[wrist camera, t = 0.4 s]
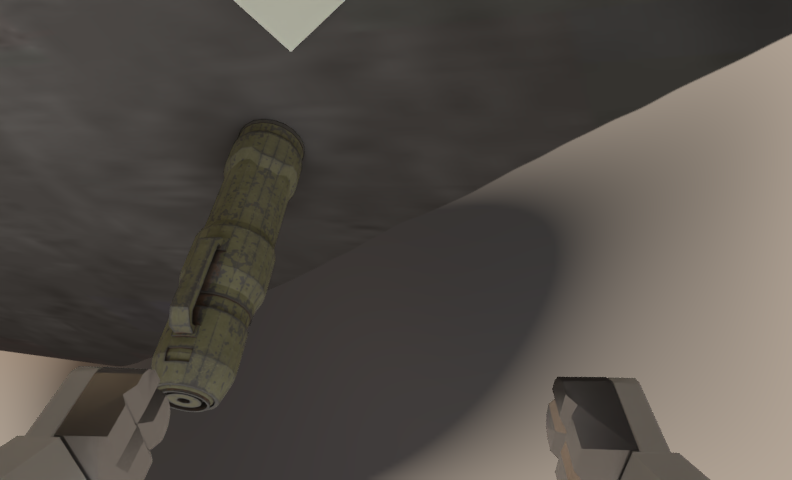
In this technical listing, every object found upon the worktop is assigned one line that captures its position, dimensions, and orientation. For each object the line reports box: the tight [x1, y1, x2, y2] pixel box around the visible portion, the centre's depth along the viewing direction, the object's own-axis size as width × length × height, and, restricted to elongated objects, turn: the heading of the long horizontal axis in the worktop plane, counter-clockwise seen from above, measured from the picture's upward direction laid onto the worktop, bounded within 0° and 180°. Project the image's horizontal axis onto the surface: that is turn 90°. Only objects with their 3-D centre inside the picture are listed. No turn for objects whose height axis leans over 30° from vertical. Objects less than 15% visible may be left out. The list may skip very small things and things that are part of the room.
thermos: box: [151, 119, 305, 412], centre depth 57 cm, size 9×12×35 cm
